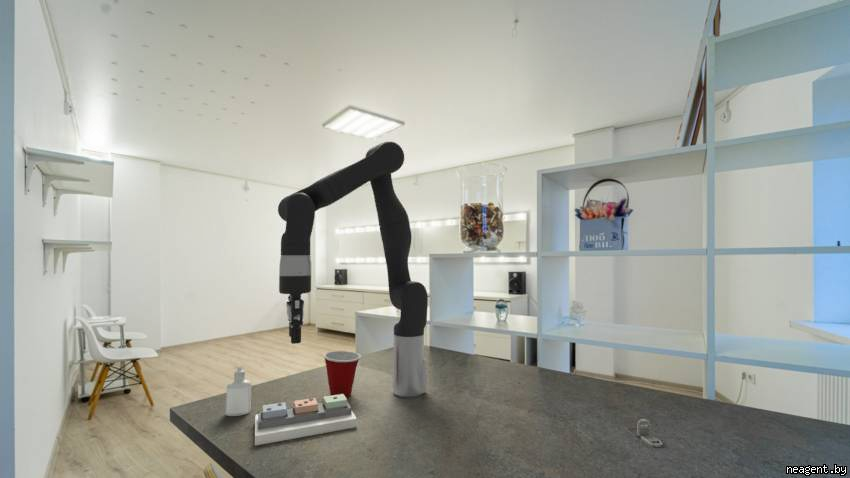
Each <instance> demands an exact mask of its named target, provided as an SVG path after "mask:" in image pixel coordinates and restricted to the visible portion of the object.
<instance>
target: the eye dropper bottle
mask: <svg viewBox="0 0 850 478" xmlns="http://www.w3.org/2000/svg"><path fill="white" fill-rule="evenodd" d="M242 367H243V366H241V365H239V366H237V370H235V371H234V372H233V374H234V375H233V381H230V382H229V383H228V384H227V386H226V395H225V396H226V398H225V415H226V416H228V417H237V416H238V417H239V416H244V415H248V414H249V413H250V412H251V408H252V407H251V406H252V405H251V404H252V403H251V401H252V382H251V381H250V380H249V379H245V377H246V371H245V370H243V368H242Z"/></svg>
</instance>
